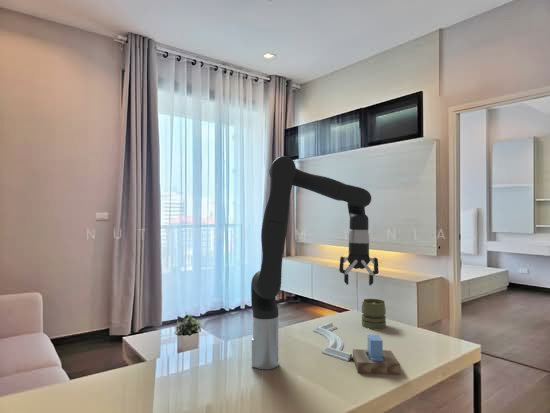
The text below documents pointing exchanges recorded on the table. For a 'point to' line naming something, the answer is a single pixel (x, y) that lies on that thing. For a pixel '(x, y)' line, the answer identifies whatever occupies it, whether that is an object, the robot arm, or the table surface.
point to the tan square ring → (376, 363)
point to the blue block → (375, 348)
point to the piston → (373, 314)
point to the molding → (333, 342)
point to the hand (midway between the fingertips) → (358, 284)
